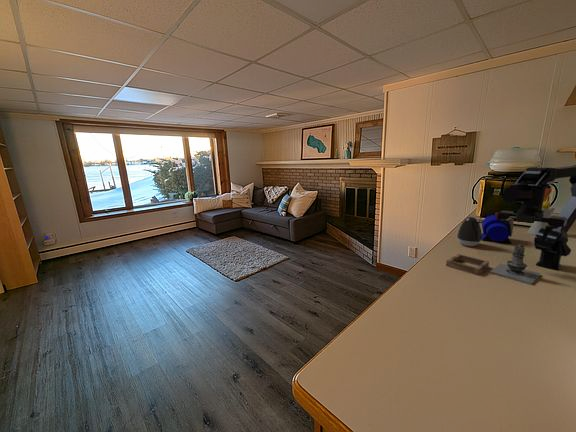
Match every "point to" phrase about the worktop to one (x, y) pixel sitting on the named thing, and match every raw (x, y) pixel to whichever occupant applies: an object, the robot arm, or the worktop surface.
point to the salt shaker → (517, 261)
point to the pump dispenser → (470, 232)
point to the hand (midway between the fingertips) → (525, 239)
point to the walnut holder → (454, 264)
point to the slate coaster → (526, 278)
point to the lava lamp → (546, 210)
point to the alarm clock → (494, 229)
